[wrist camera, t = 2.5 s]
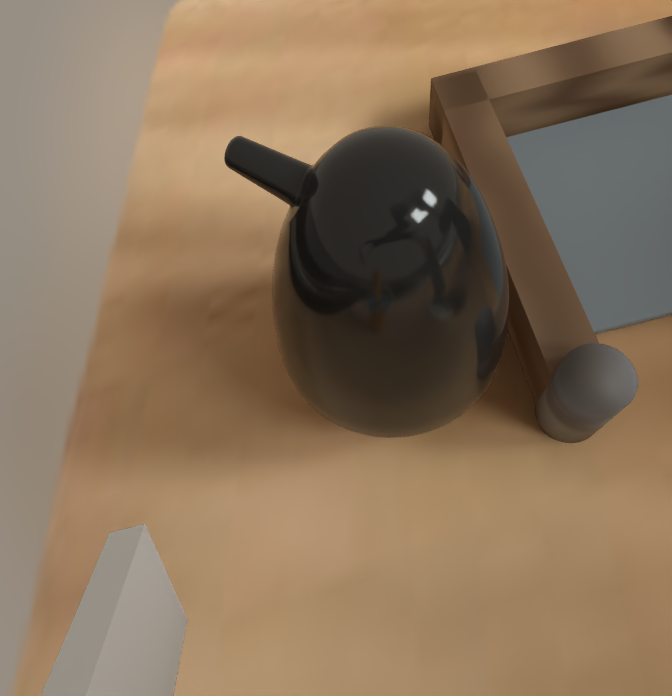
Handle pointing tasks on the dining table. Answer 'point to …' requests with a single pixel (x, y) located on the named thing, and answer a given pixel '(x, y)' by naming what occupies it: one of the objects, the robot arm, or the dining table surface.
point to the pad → (608, 207)
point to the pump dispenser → (383, 279)
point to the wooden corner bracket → (524, 216)
